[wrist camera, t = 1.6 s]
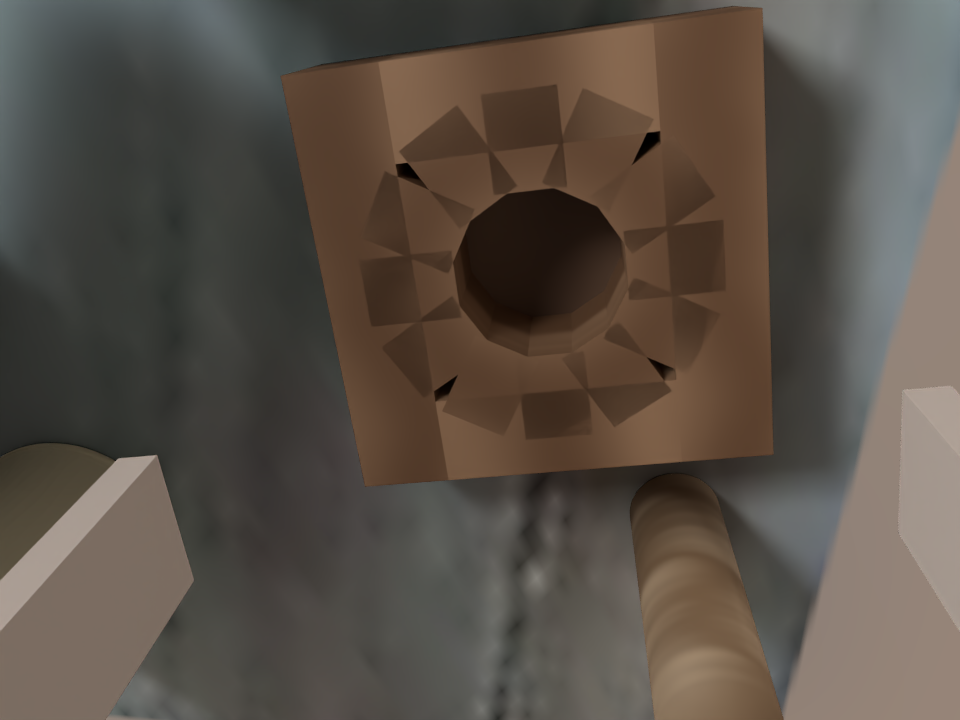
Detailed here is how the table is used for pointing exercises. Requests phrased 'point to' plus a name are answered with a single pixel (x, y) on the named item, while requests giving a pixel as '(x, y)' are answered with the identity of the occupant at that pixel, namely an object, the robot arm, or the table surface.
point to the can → (41, 492)
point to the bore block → (546, 247)
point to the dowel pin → (696, 608)
